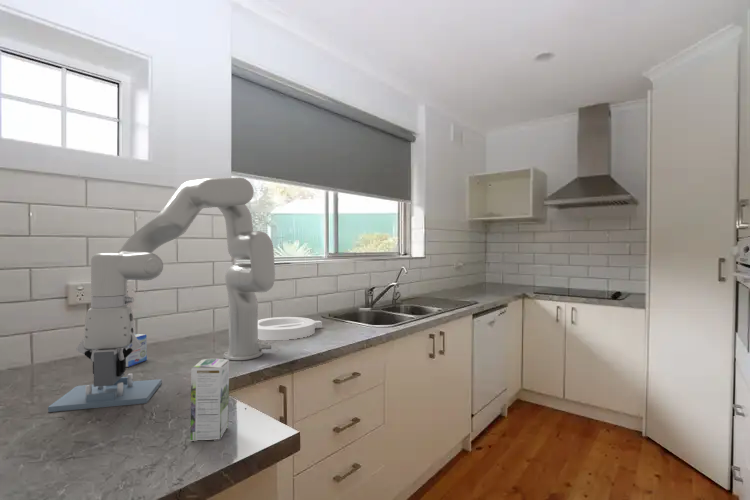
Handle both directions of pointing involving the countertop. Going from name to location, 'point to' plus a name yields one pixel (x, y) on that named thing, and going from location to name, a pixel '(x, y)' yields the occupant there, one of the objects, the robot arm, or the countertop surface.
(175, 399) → the countertop surface
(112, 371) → the block
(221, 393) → the syrup box
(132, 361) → the medicine box
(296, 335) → the ring with crossbar
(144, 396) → the blue fixture board
